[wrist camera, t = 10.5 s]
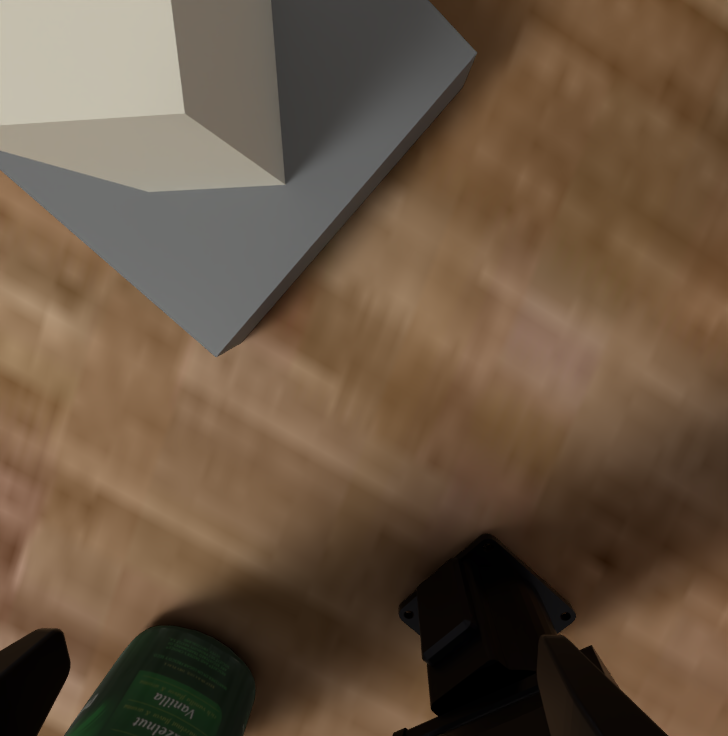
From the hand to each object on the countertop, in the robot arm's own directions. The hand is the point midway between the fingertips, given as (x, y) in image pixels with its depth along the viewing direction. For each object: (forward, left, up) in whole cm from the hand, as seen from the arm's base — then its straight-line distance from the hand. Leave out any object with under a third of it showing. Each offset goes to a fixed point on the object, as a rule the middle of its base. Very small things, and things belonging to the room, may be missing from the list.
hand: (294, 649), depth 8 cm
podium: (+12, -6, -13) cm, 19 cm away
